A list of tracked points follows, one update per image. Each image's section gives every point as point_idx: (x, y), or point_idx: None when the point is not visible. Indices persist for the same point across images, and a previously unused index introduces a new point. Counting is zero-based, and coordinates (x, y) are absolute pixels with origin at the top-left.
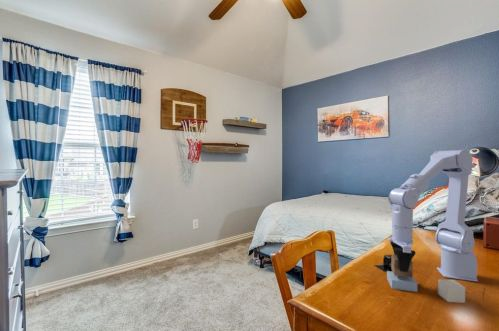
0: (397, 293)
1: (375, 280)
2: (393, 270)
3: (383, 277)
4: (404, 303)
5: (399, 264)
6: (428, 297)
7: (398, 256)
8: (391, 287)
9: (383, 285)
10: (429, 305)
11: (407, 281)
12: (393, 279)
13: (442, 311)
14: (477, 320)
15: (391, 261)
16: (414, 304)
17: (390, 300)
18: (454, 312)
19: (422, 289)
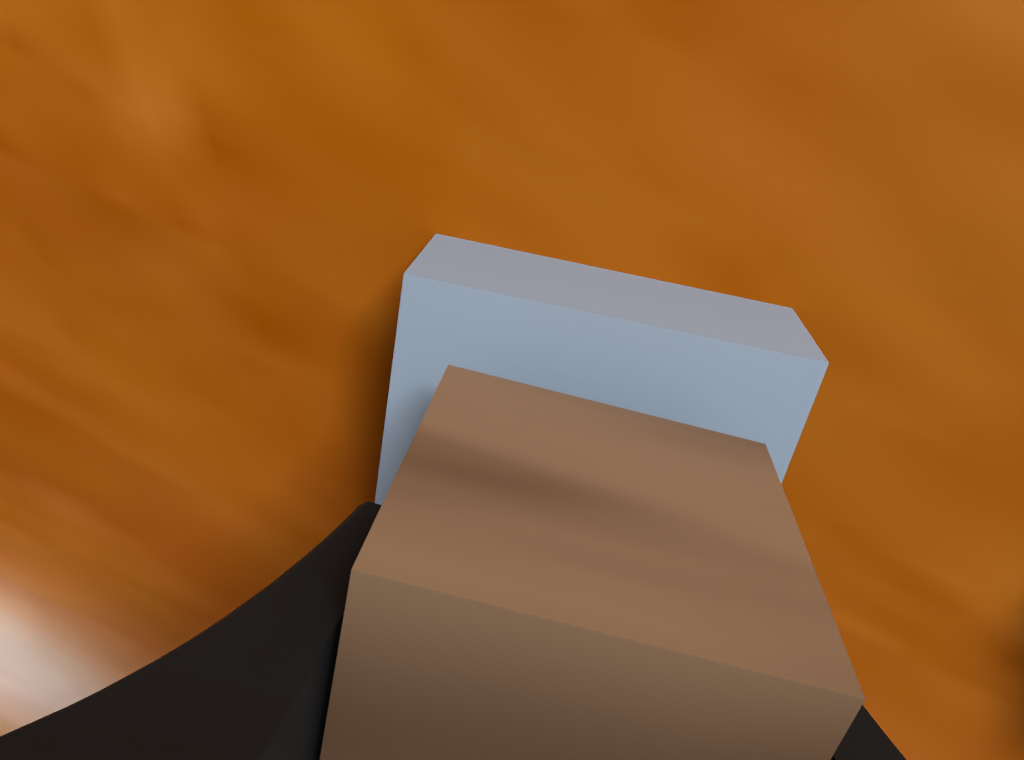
0: (287, 249)
1: (719, 59)
2: (528, 414)
3: (846, 267)
4: (20, 216)
5: (286, 579)
6: (278, 571)
7: (38, 731)
8: (460, 240)
9: (524, 135)
10: (85, 486)
11: None
12: (435, 313)
13: (3, 542)
14: None
15: (797, 544)
16: (43, 333)
17: (31, 42)
18: (30, 631)
19: None
